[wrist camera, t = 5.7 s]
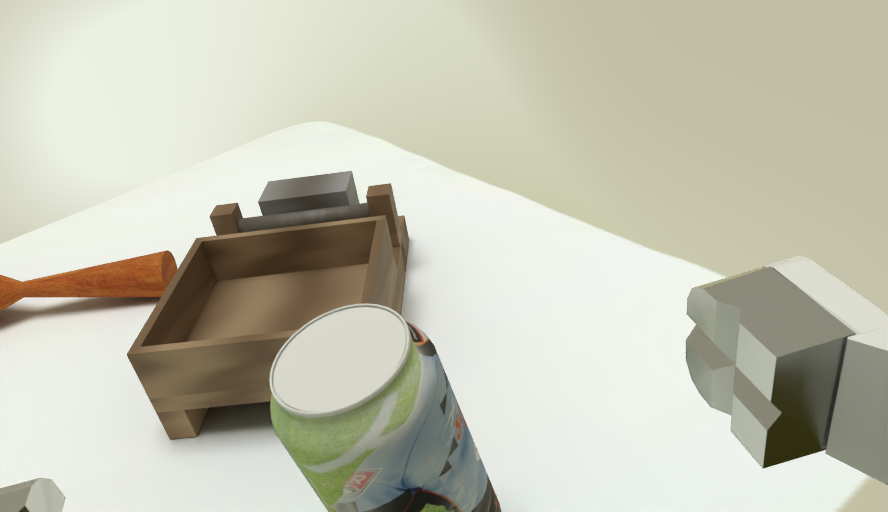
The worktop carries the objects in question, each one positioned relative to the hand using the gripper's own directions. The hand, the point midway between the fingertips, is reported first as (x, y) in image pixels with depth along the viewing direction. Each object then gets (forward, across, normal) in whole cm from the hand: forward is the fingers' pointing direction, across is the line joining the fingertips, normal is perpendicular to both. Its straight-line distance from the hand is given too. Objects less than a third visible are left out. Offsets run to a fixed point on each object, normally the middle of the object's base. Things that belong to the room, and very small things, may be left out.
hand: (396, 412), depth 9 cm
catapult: (+31, +4, +20) cm, 37 cm away
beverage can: (+12, +1, +20) cm, 23 cm away
